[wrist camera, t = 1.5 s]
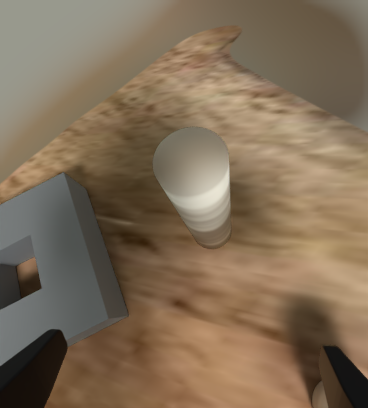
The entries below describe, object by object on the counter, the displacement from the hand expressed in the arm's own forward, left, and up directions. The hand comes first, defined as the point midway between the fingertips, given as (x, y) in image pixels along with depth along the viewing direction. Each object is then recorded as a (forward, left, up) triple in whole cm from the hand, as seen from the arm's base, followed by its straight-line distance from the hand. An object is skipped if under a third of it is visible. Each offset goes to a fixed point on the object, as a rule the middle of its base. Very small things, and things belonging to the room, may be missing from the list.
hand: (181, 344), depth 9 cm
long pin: (+7, -3, -14) cm, 16 cm away
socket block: (+10, +14, -14) cm, 22 cm away
